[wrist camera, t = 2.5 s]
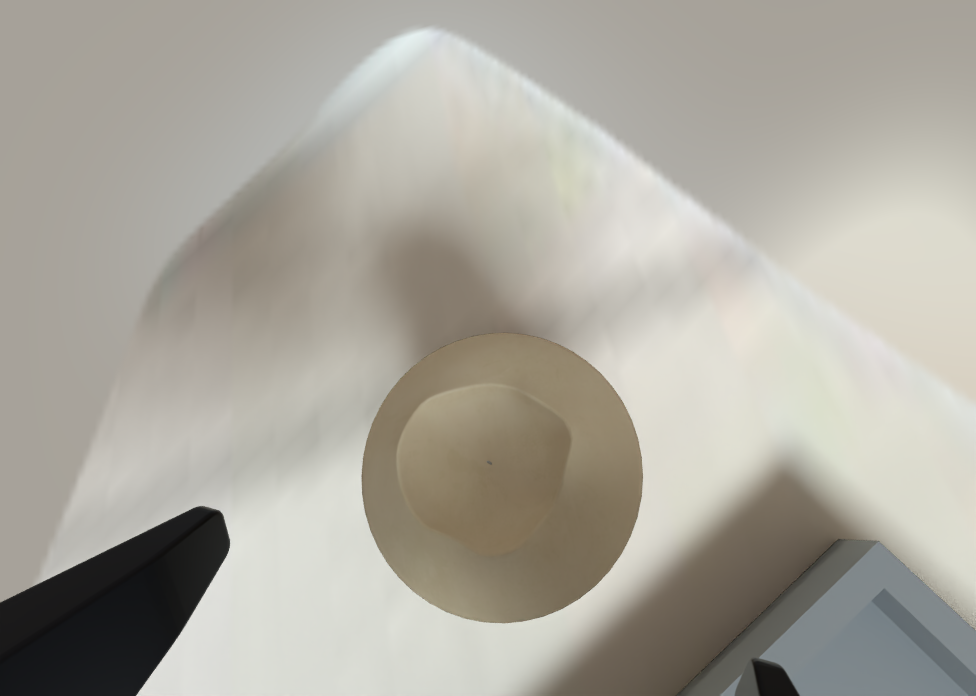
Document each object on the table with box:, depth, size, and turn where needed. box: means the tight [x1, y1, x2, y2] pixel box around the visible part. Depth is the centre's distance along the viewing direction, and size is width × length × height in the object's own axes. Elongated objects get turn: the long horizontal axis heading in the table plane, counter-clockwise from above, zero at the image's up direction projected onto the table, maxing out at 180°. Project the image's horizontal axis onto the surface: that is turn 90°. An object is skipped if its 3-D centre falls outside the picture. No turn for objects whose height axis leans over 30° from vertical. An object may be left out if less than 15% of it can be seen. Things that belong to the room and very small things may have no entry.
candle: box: [362, 333, 643, 623], centre depth 14 cm, size 6×6×10 cm
